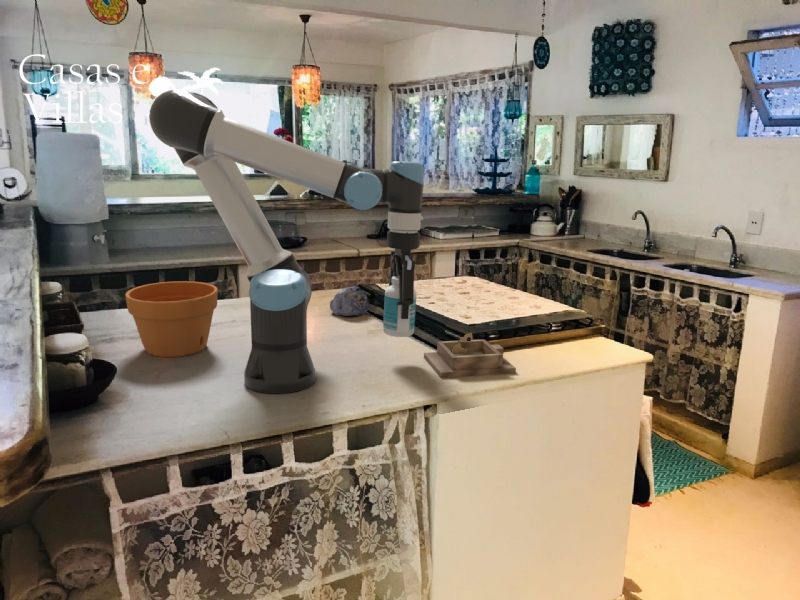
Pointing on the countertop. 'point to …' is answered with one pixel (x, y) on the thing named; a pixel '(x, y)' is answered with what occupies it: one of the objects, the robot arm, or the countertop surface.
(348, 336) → the countertop surface
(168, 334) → the flower pot
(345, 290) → the rock
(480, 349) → the wooden tray
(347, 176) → the robot arm
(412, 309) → the pill bottle
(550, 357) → the countertop surface
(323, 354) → the countertop surface
